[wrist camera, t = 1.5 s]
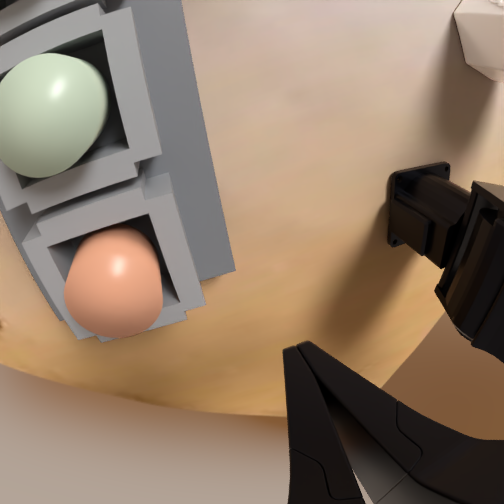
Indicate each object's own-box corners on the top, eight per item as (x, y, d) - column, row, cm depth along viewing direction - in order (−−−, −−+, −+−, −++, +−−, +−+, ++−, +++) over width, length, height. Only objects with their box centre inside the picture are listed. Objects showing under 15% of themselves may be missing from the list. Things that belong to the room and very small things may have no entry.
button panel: (160, -98, 8) (167, -142, 4) (228, 253, 21) (249, 301, 17) (-31, -23, 6) (-72, -38, 2) (64, 302, 19) (52, 354, 15)
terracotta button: (143, 211, 14) (143, 242, 12) (170, 285, 17) (175, 324, 14) (61, 238, 13) (46, 273, 11) (96, 306, 16) (91, 346, 13)
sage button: (99, 43, 10) (85, 33, 7) (121, 138, 12) (113, 153, 10) (9, 82, 9) (-23, 86, 7) (34, 171, 11) (9, 194, 9)
